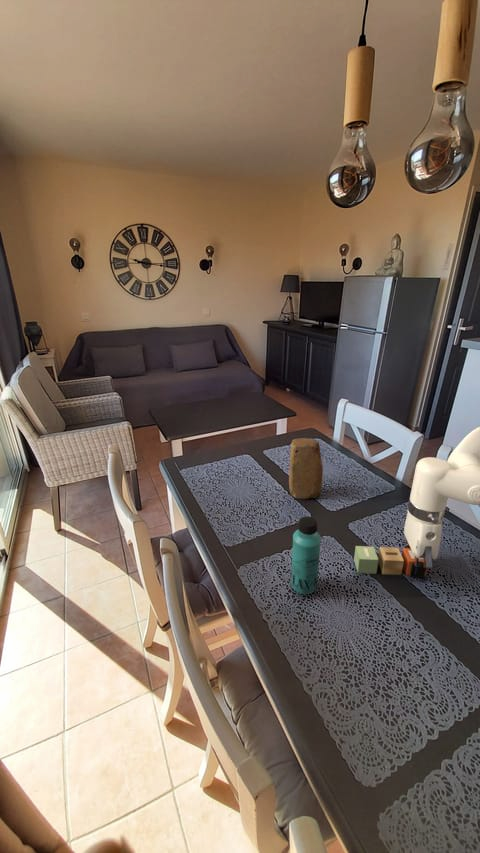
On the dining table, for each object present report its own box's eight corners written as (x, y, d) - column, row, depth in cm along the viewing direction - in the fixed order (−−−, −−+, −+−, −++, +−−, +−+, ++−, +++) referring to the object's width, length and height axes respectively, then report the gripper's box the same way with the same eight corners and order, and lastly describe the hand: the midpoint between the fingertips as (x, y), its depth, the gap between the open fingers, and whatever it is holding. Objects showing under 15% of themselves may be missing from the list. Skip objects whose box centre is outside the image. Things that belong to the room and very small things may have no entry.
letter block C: (418, 562, 93) (421, 548, 91) (425, 576, 89) (428, 561, 87) (400, 561, 94) (403, 547, 92) (406, 575, 89) (409, 561, 87)
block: (288, 499, 120) (290, 445, 112) (288, 487, 127) (290, 435, 119) (321, 501, 119) (325, 447, 111) (320, 488, 125) (323, 436, 117)
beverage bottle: (284, 587, 87) (286, 520, 79) (302, 573, 91) (306, 508, 83) (305, 604, 82) (309, 535, 74) (323, 589, 86) (329, 521, 78)
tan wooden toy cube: (395, 561, 94) (398, 547, 92) (401, 575, 89) (404, 560, 88) (377, 560, 94) (379, 546, 92) (382, 574, 90) (384, 559, 88)
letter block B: (371, 560, 94) (374, 546, 92) (376, 573, 90) (378, 559, 88) (353, 559, 95) (355, 545, 93) (357, 573, 90) (359, 558, 89)
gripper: (459, 534, 76) (442, 597, 83) (428, 489, 91) (416, 545, 99) (422, 532, 76) (408, 595, 84) (398, 488, 92) (388, 544, 99)
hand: (412, 567), depth 91 cm, fingers closed on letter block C, 4 cm apart
